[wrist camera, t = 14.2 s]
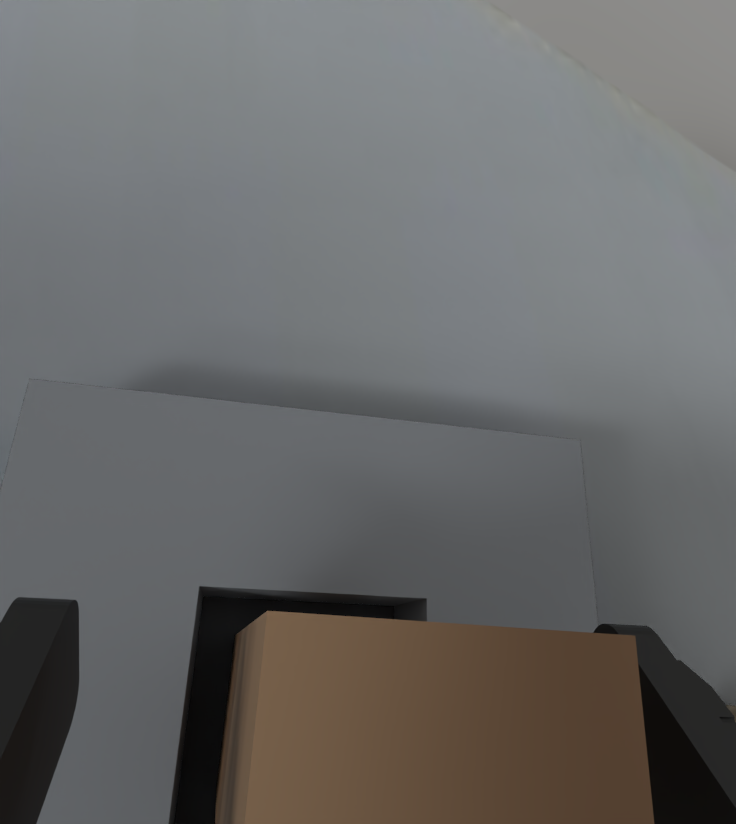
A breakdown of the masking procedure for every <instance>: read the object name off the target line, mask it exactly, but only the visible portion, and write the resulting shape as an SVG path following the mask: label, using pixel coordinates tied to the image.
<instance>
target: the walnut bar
mask: <svg viewBox="0 0 736 824" xmlns="http://www.w3.org/2000/svg"><path fill="white" fill-rule="evenodd" d="M215 824H654V815H653V805H652V796H651V786H650V776H649V766H648V756H647V746H646V737H645V727H644V717H643V707H642V697H641V688H640V678H639V668H638V658H637V648H636V638H635V636H633V635H618V634H604V633H589V632H574V631H559V630H545V629H530V628H515V627H500V626H486V625H471V624H456V623H442V622H427V621H412V620H397V619H383V618H368V617H353V616H338V615H324V614H309V613H294V612H279V611H266V612H265V613H264V614H262V615H261V616H260V617H258V618H257V619H256V620H254V621H253V622H252V623H250V624H249V625H248V626H247V627H245V628H244V629H243V630H241V631H240V632H239V633H237V634H236V635H235V638H234V646H233V654H232V662H231V670H230V678H229V686H228V695H227V703H226V711H225V719H224V727H223V735H222V743H221V751H220V759H219V767H218V775H217V783H216V812H215Z"/></svg>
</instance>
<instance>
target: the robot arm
mask: <svg viewBox="0 0 736 824" xmlns="http://www.w3.org/2000/svg"><path fill="white" fill-rule="evenodd" d="M593 633H604V634H618V635H633V636H635V638H636V648H637V658H638V668H639V678H640V688H641V697H642V707H643V717H644V727H645V737H646V746H647V756H648V766H649V776H650V786H651V796H652V805H653V815H654V824H736V722H735V717H734V715H733V714H732V713H731V711H730V710H729V709H728V708H727V706H726V705H725V704H724V702H723V701H722V700H721V699H720V697H719V696H718V695H717V693H716V692H715V691H714V690H713V688H712V687H711V686H710V685H709V684H707V683H706V682H705V681H704V680H703V679H702V678H700V677H699V676H698V675H697V674H696V673H694V672H693V671H692V670H691V669H690V668H688V667H687V666H686V665H685V664H684V663H682V662H681V661H679V660H676V659H675V658H674V656H673V655H672V654H671V652H670V651H669V650H668V648H667V647H666V646H665V644H664V643H663V642H662V640H661V639H660V638H659V636H658V635H657V634H656V633H655V632H654V631H653V630H652V629H651V628H649V627H647V626H638V625H617V624H601V625H599V626H598V627H597V628H596V629H595V630H594V632H593ZM78 690H79V607H78V602H77V601H76V600H70V599H49V598H29V597H18V598H16V599H15V600H14V601H13V602H12V604H11V605H10V607H9V608H8V610H7V612H6V614H5V615H4V617H3V619H2V621H1V622H0V824H36V823H37V821H38V818H39V815H40V812H41V809H42V806H43V804H44V801H45V798H46V795H47V792H48V789H49V787H50V784H51V781H52V778H53V775H54V772H55V770H56V767H57V764H58V761H59V758H60V755H61V753H62V750H63V747H64V744H65V741H66V738H67V736H68V733H69V730H70V727H71V724H72V720H73V716H74V712H75V708H76V703H77V697H78Z"/></svg>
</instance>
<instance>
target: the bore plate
mask: <svg viewBox="0 0 736 824" xmlns="http://www.w3.org/2000/svg"><path fill="white" fill-rule="evenodd" d="M203 596H208V597H227V598H246V599H266V600H285V601H305V602H324V603H343V604H363V605H382V606H394V619H397V620H412V621H427V622H442V623H456V624H471V625H486V626H500V627H515V628H530V629H545V630H559V631H574V632H589V633H593V632H594V630H595V629H596V628H597V627H598V617H597V607H596V596H595V586H594V576H593V565H592V555H591V545H590V534H589V524H588V514H587V503H586V493H585V483H584V472H583V462H582V452H581V442H580V440H577V439H568V438H559V437H550V436H541V435H532V434H523V433H514V432H505V431H496V430H487V429H478V428H469V427H460V426H451V425H442V424H433V423H424V422H415V421H406V420H397V419H388V418H379V417H370V416H361V415H352V414H343V413H334V412H325V411H317V410H308V409H299V408H290V407H281V406H272V405H263V404H254V403H245V402H236V401H227V400H218V399H209V398H200V397H191V396H182V395H173V394H164V393H155V392H146V391H137V390H128V389H119V388H110V387H101V386H92V385H83V384H74V383H65V382H56V381H47V380H38V379H29V381H28V385H27V389H26V393H25V397H24V400H23V404H22V408H21V412H20V416H19V420H18V424H17V427H16V431H15V435H14V439H13V443H12V447H11V451H10V455H9V458H8V462H7V466H6V470H5V474H4V478H3V482H2V486H1V489H0V622H1V621H2V619H3V617H4V615H5V614H6V612H7V610H8V608H9V607H10V605H11V604H12V602H13V601H14V600H15V599H16V598H18V597H29V598H49V599H70V600H76V601H77V602H78V607H79V690H78V697H77V703H76V708H75V712H74V716H73V720H72V724H71V727H70V730H69V733H68V736H67V738H66V741H65V744H64V747H63V750H62V753H61V755H60V758H59V761H58V764H57V767H56V770H55V772H54V775H53V778H52V781H51V784H50V787H49V789H48V792H47V795H46V798H45V801H44V804H43V806H42V809H41V812H40V815H39V818H38V821H37V823H36V824H174V822H175V814H176V807H177V799H178V791H179V783H180V775H181V767H182V759H183V751H184V743H185V736H186V728H187V720H188V712H189V704H190V696H191V688H192V680H193V672H194V665H195V657H196V649H197V641H198V633H199V625H200V617H201V609H202V602H203Z"/></svg>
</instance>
